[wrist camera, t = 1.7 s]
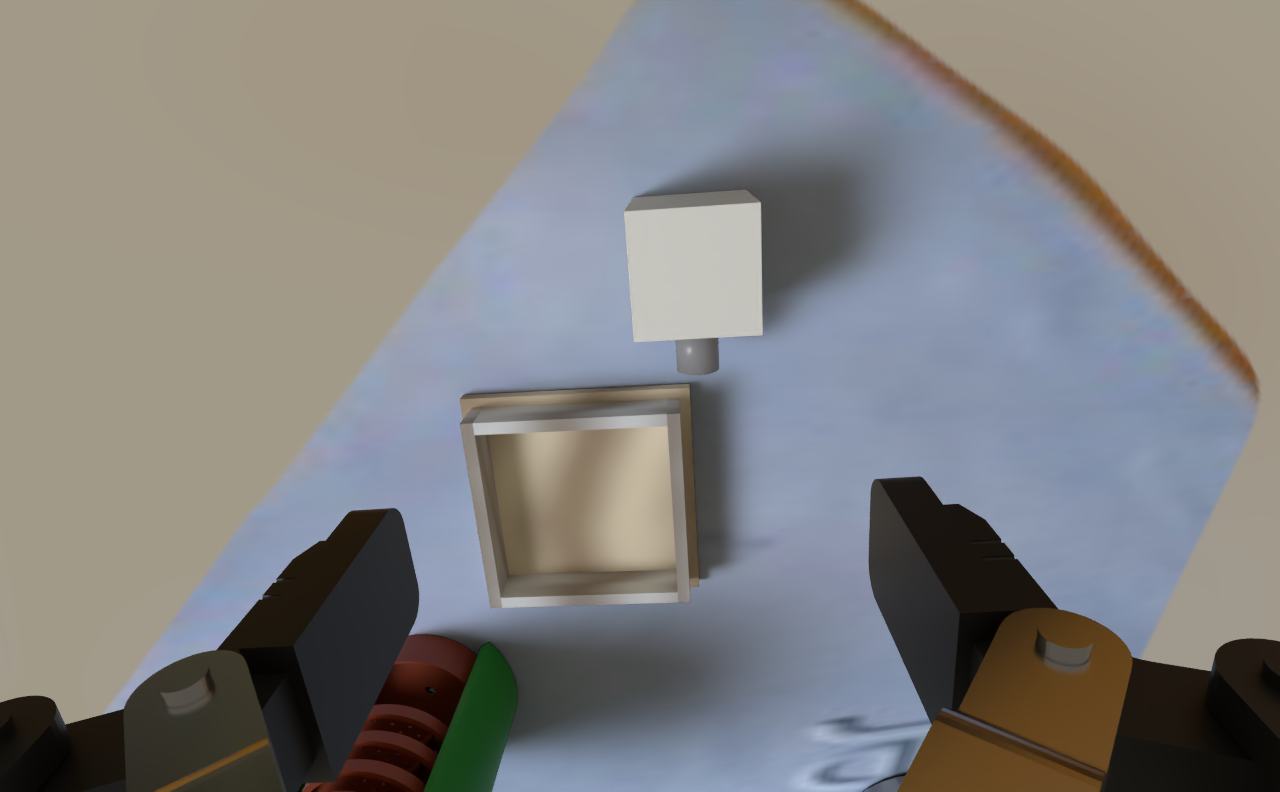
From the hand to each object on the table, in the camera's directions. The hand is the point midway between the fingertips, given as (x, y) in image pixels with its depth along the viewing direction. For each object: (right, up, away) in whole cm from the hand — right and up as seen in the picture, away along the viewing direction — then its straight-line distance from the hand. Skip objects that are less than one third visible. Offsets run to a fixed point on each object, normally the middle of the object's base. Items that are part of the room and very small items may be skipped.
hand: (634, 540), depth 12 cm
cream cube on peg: (+2, +9, +21) cm, 23 cm away
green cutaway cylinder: (-12, -15, +30) cm, 36 cm away
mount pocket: (-3, -2, +25) cm, 25 cm away
